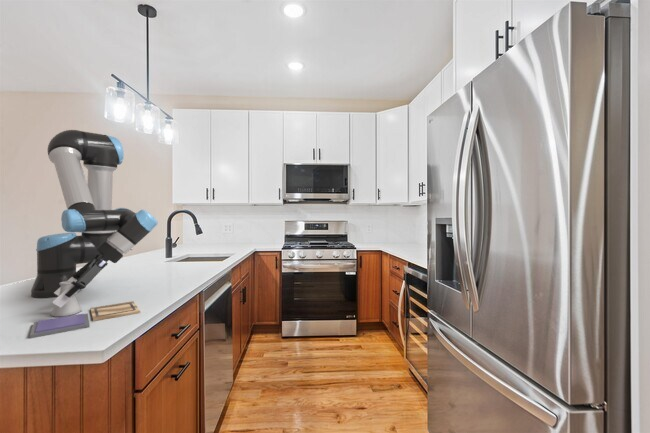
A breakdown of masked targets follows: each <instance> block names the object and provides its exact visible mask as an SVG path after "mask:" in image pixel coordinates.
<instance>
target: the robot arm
mask: <svg viewBox="0 0 650 433" xmlns="http://www.w3.org/2000/svg"><path fill="white" fill-rule="evenodd" d="M123 148H124V147H123V145H122V142H121V141H120V139H118V138H117V137H115V136H110V135H108V134H101V133H94V132H90V131H89V132H88V131H83V130H78V129H67V130H63V131H60V132H59V133H57V134H55V135H54V136H53V137H52V138H51V139H50V141H49V143H48V145H47V156H48V159H49V161H50V163H53V165H54V168H55V171H56V174H57V179H58V181H59V185H60V188H61V192H62V195H63V199H64V202H65V205H66V209H65V210H63V211H62V213H61V227H62V229H63V231H65V232H64V233H63V232H62V233H61V232H60V233H55V234H50V235H45V236H41V237H39V238H38V239H37V241H36V249H35V251H36V272H37V273H36V277H35V280H34V282H33V285H32V286H31V287H32V288H31V291H30V295H31V297H32V298H36V299H37V298H38V299H39V298H54V297H55V298H54V300H52V302H51V303H52V304H53V305H54V306H55V305H57V306H59V307H60V308H61V307H62V306H63V305H64V304H66V303H67V302H68V301H69V300H70V299H71V298H72V297H73V296H75V295H77V293H79V292H81V291H82V290H84V289H86V287H87V286H88V285H89V284H90V283H91V282H92V280H93V279H94V278H95V277H96V276H97V275H98V274H99V273H101V271H102V270H103V269H104V268H105V267H107V266H108V264H109V263H108V261H110V262H111V263H113V264H116V263H118V262H119V261H120V260H121V259H123V257H124V255H126V254H127V253H128V252H129V251H133V250H134V246H136V245H137V244H138V243H140V242H141V241H142V240H143V239H144V238H145V237H146V236H147V235H148V234H149V233H151V232H152V231H153V229H155V227H156V226H157V225H158V220H157V219H156V218H155V216H153V215H152V214H151V213H150V212H148V211H147V210H145V209H141V210H139V211H138V212H137V211H136V212H134V211H133V210H131V209H129V208H127V207H126V208H125V207H117V208H115V209H112V208H113V205H112V203H113V183H114V182H113V177H114V176H113V174H114V172H115V171H116V170H118V165H121V164H122V163H123V160H124V156H125V154H124V149H123ZM81 161H83V162H82V163H81ZM82 164H83V165H82ZM82 166H84V167H85V169H87V179H86V175H85V174H84V170H83V167H82ZM76 233H81V235H77V234H76ZM123 254H124V255H123ZM81 264H85V265H84V266H82V267H81V268H79V269H78V270H77V265H81ZM65 281H73V282H71V284H72V285H71V286H70V287H68V288H67V289H66V290H65V291H64V292H63V293H62V294H61V295H59V294H60V290H61V285H60V284H59V283H61V282H65Z"/></svg>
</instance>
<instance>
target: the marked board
mask: <svg viewBox="0 0 650 433" xmlns="http://www.w3.org/2000/svg"><path fill="white" fill-rule="evenodd" d="M90 313H91V317H92V322H97V321H103V320H109V319H113V318H119V317H120V318H121V317H125V316H130V315H137V314H141V310H140V308H139V307H138V305H137V304H136V303H135V301H133V300H132V301H126V302H120V303H114V304H108V305H101V306H95V307H90Z"/></svg>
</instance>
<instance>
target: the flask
mask: <svg viewBox="0 0 650 433" xmlns="http://www.w3.org/2000/svg"><path fill="white" fill-rule="evenodd" d="M71 282H73V281H65V282H61V283H59V284H60V285H61V290H60V294H59V295H61V294H62V293H63V292H64V291H65V290H66V289H67V288H68V287H70V286H71V285H72V284H71ZM82 311H83V310H82V307H81V306H80V304H79V302H78V300H77V297H76V296H75V295H74V296H73V297H72V298H71V299H70V300H69V301H68V302H67V303H66V304H64V305H63V306H62V307H61V308H60V307H59V306H57V305H55V304H54V307H53V309H52V310H51V313H50V316H52V317H53V318H59V317H66V316H72V315H77V314H79V313H81V312H82Z"/></svg>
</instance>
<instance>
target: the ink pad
mask: <svg viewBox="0 0 650 433" xmlns="http://www.w3.org/2000/svg"><path fill="white" fill-rule="evenodd" d="M90 327H91V326H90V319H89V314H88V313H80V314H79V313H77V314H73V315H68V316H61V317H53V318H48V319H42V320H38V321H34V322H33V325H32V328H31V331H30V334H29V339H33V338H39V337H44V336H45V337H46V336H49V335H55V334H59V333H65V332H69V331H76V330H81V329H86V328H90Z"/></svg>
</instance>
